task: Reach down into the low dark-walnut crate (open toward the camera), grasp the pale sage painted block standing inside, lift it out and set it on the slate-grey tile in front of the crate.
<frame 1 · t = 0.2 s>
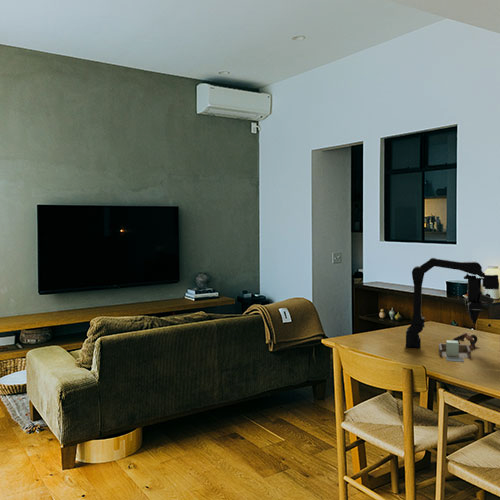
hand: (473, 321, 242), 14 cm above the table, tool pointing down, fingers open, 9 cm apart
walnut crate: (454, 354, 238), on the table
pottery mug: (466, 348, 251), on the table
slate tile: (454, 360, 228), on the table
sage block: (452, 354, 236), resting on walnut crate
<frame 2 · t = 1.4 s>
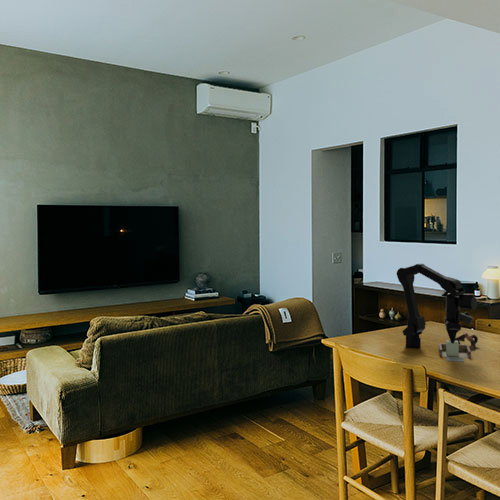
hand: (452, 340, 236), 7 cm above the table, tool pointing down, fingers open, 9 cm apart
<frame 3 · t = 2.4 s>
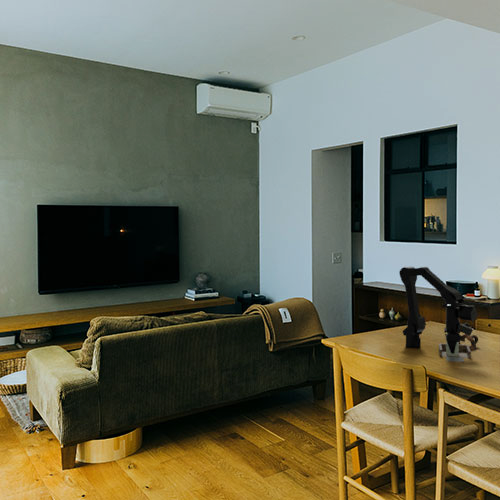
hand: (452, 351, 236), 2 cm above the table, tool pointing down, fingers closed on sage block, 5 cm apart
sage block: (452, 354, 236), resting on walnut crate, touching gripper
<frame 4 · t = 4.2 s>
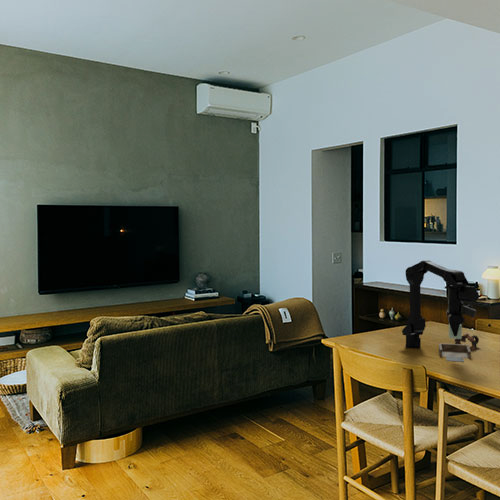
hand: (454, 334, 227), 11 cm above the table, tool pointing down, fingers closed on sage block, 5 cm apart
sage block: (455, 337, 227), point 10 cm above the table, touching gripper
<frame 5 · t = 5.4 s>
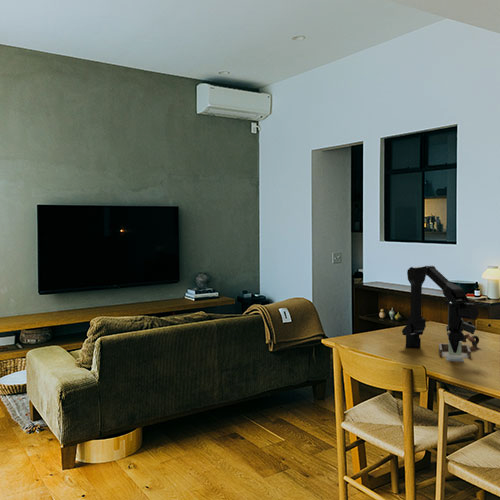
hand: (454, 351, 228), 4 cm above the table, tool pointing down, fingers closed on sage block, 5 cm apart
sage block: (454, 353, 228), point 3 cm above the table, touching gripper
when the fingers open (3 cm above the table, at t = 6.0 s): sage block drops 1 cm, resting on slate tile.
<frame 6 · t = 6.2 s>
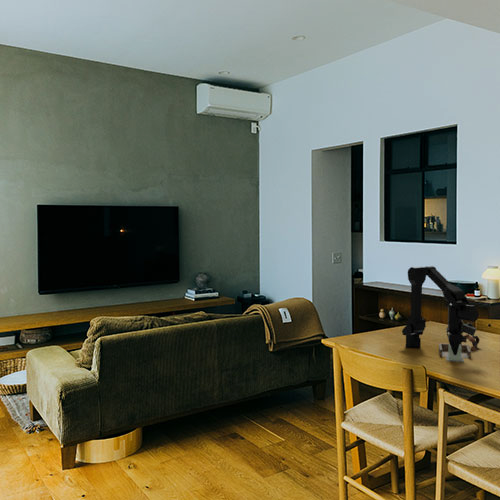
hand: (454, 352, 228), 3 cm above the table, tool pointing down, fingers open, 7 cm apart
sage block: (454, 358, 228), point 1 cm above the table, touching slate tile
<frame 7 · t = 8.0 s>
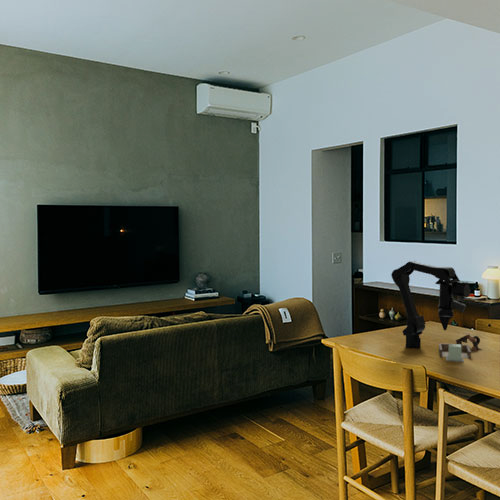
hand: (444, 328, 238), 12 cm above the table, tool pointing down, fingers open, 9 cm apart
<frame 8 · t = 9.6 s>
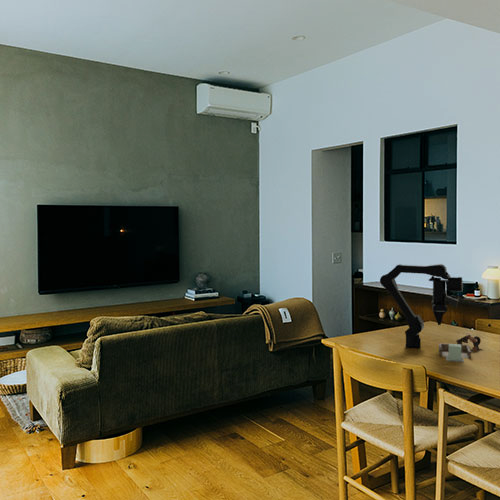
hand: (439, 323, 246), 13 cm above the table, tool pointing down, fingers open, 9 cm apart
at the end: sage block inside the target area on the slate tile (0.0 cm from its centre), point 0.6 cm above the slate tile's base; sage block tilted 0°; the gripper is holding nothing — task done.
